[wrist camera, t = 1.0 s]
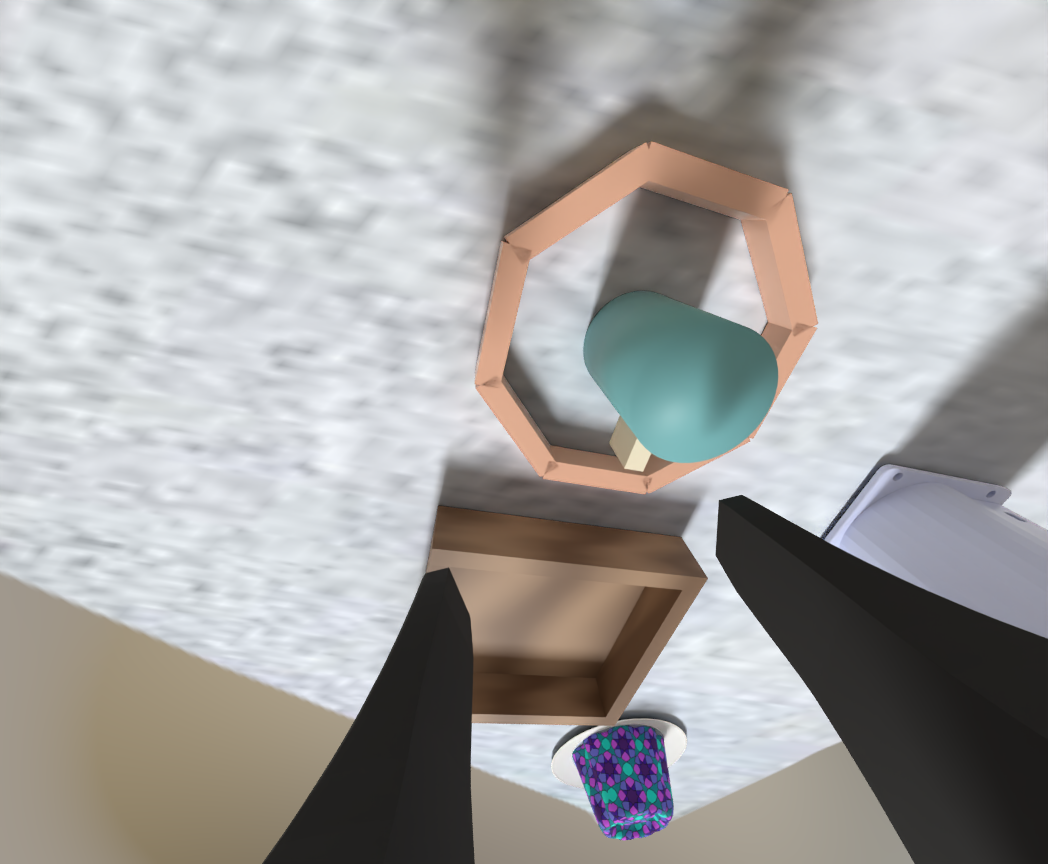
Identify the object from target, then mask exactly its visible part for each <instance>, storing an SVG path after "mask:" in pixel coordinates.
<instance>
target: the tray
mask: <svg viewBox="0 0 1048 864" xmlns="http://www.w3.org/2000/svg"><path fill="white" fill-rule="evenodd" d="M448 567H449V568H450V571H451V573H452V575H453V578H454V580H455V582H456V585H457V587H458V589H459V591H460V594H461V596H462V598H463V601H464V603H465V605H466V608H467V610H468V612H469V614H470V618H471V630H472V643H473V698H472V723H498V724H547V725H596V726H615V724H616V723H617V721H618V720H619V718H620V716H621V715H622V713H623V712H624V710H625V709H626V707H627V705H628V704H629V702H630V701H631V699H632V698H633V696H634V694H635V693H636V691H637V690H638V688H639V686H640V685H641V683H642V682H643V680H644V679H645V677H646V675H647V674H648V672H649V671H650V669H651V668H652V666H653V664H654V663H655V661H656V660H657V658H658V656H659V655H660V653H661V652H662V650H663V649H664V647H665V645H666V644H667V642H668V641H669V639H670V638H671V636H672V634H673V633H674V631H675V630H676V628H677V626H678V625H679V623H680V622H681V620H682V619H683V617H684V615H685V614H686V612H687V611H688V609H689V608H690V606H691V604H692V603H693V601H694V600H695V598H696V596H697V595H698V593H699V592H700V590H701V589H702V587H703V585H704V584H705V582H706V581H707V579H708V578H707V576H706V575H705V573H704V572H703V570H702V568H701V567H700V565H699V564H698V562H697V561H696V559H695V558H694V556H693V555H692V553H691V551H690V550H689V548H688V547H687V545H686V544H685V542H684V541H683V539H682V538H681V537H676V536H668V535H660V534H653V533H645V532H637V531H630V530H622V529H614V528H607V527H599V526H591V525H584V524H576V523H568V522H561V521H553V520H545V519H538V518H530V517H522V516H515V515H507V514H499V513H492V512H484V511H476V510H469V509H461V508H453V507H445V506H438V509H437V515H436V520H435V526H434V531H433V536H432V542H431V547H430V552H429V558H428V563H427V569H426V573H428V572H432V571H436V570H440V569H444V568H448Z"/></svg>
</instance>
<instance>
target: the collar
mask: <svg viewBox="0 0 1048 864" xmlns="http://www.w3.org/2000/svg"><path fill="white" fill-rule="evenodd" d="M639 187H640V188H643V189H647V190H650V191H653V192H656V193H659V194H662V195H665V196H668V197H671V198H674V199H677V200H680V201H683V202H687V203H690V204H693V205H696V206H699V207H702V208H705V209H708V210H711V211H714V212H717V213H720V214H723V215H727V216H730V217H733V218H736V219H739V220H741V223H742V227H743V230H744V234H745V238H746V241H747V245H748V249H749V253H750V256H751V260H752V264H753V268H754V271H755V275H756V279H757V282H758V286H759V290H760V294H761V297H762V301H763V305H764V308H765V312H766V316H767V320H768V323H767V325H766V327H765V329H764V331H763V333H762V335H761V336H762V337H763V338H764V339H765V340H766V341H767V342H768V343H769V345H770V346H771V348H772V350H773V352H774V354H775V357H776V360H777V365H778V385H777V390H776V394H775V397H774V400H773V403H772V405H773V404H774V402H775V400H776V398H777V397H778V395H779V393H780V391H781V390H782V388H783V386H784V385H785V383H786V381H787V379H788V378H789V376H790V374H791V372H792V371H793V369H794V367H795V365H796V364H797V362H798V360H799V359H800V357H801V355H802V353H803V352H804V350H805V348H806V346H807V345H808V343H809V341H810V339H811V338H812V336H813V334H814V333H815V331H816V329H817V328H816V327H813V326H815V325H817V324H818V321H817V316H816V311H815V306H814V301H813V296H812V291H811V286H810V281H809V276H808V271H807V266H806V261H805V256H804V251H803V246H802V242H801V237H800V232H799V227H798V222H797V217H796V212H795V207H794V202H793V197H792V193H789V194H787V193H788V191H789V190H788V189H785V188H783V187H780V186H777V185H774V184H771V183H768V182H766V181H763V180H760V179H757V178H754V177H751V176H749V175H746V174H743V173H740V172H737V171H734V170H732V169H729V168H726V167H723V166H720V165H717V164H715V163H712V162H709V161H706V160H703V159H700V158H698V157H695V156H692V155H689V154H686V153H683V152H681V151H678V150H675V149H672V148H669V147H666V146H664V145H661V144H658V143H655V142H652V141H651V142H649V143H646V142H645V143H644V144H642V145H640V146H638V147H636V148H634V149H632V150H630V151H628V152H627V153H625V154H624V155H622V156H621V157H619V158H618V159H617V160H615V161H614V162H612V163H611V164H609V165H608V166H606V167H605V168H603V169H602V170H600V171H599V172H598V173H596V174H595V175H593V176H592V177H590V178H589V179H587V180H586V181H584V182H583V183H581V184H580V185H579V186H577V187H576V188H574V189H573V190H571V191H570V192H568V193H567V194H565V195H564V196H562V197H561V198H560V199H558V200H557V201H555V202H554V203H552V204H551V205H549V206H548V207H546V208H545V209H543V210H542V211H541V212H539V213H538V214H536V215H535V216H533V217H532V218H530V219H529V220H527V221H526V222H524V223H523V224H522V225H520V226H519V227H517V228H516V229H514V230H513V231H511V232H510V233H508V234H507V235H505V236H504V238H505V240H506V241H507V242H504V241H501V244H500V249H499V254H498V259H497V264H496V269H495V274H494V279H493V284H492V289H491V294H490V299H489V304H488V309H487V314H486V319H485V324H484V329H483V334H482V339H481V344H480V349H479V354H478V359H477V364H476V369H475V384H476V389H477V391H478V392H479V394H480V395H481V396H482V398H483V399H484V401H485V402H486V403H487V405H488V406H489V407H490V409H491V410H492V412H493V413H494V414H495V416H496V417H497V418H498V420H499V421H500V423H501V424H502V425H503V427H504V428H505V430H506V431H507V432H508V434H509V435H510V436H511V438H512V439H513V441H514V442H515V443H516V445H517V446H518V447H519V449H520V450H521V452H522V453H523V454H524V456H525V457H526V459H527V460H528V461H529V463H530V464H531V465H532V467H533V468H534V470H535V471H536V472H537V474H538V475H539V477H541V476H542V477H543V479H547V480H554V481H560V482H567V483H573V484H580V485H586V486H593V487H600V488H606V489H613V490H619V491H626V492H633V493H639V494H646V492H648V493H651V492H653V491H655V490H657V489H659V488H661V487H663V486H665V485H667V484H669V483H671V482H673V481H674V480H676V479H678V478H680V477H682V476H684V475H686V474H688V473H690V472H692V471H694V470H696V469H698V468H700V467H702V466H704V465H705V464H707V463H709V462H711V461H713V460H715V459H717V458H719V457H721V456H723V455H725V454H727V453H729V452H731V451H733V450H735V449H736V448H738V447H740V446H742V445H744V444H746V443H748V442H750V439H749V438H754V436H755V435H756V433H757V431H758V430H759V428H760V426H761V424H762V423H763V421H764V419H765V417H766V416H767V414H768V413H767V414H766V416H765V417H764V419H763V421H762V422H761V423H760V424H759V426H758V427H757V428H756V429H755V430H754V431H753V432H752V433H751V434H750V436H748V437H747V438H746V439H745V440H744V441H743V442H741V443H740V444H739V445H737V446H736V447H734V448H733V449H731V450H729V451H728V452H726V453H724V454H722V455H719V456H717V457H714V458H712V459H709V460H705V461H701V462H694V463H677V462H671V461H667V460H664V459H661V458H659V457H657V456H655V455H653V454H652V453H651V455H650V457H649V460H648V462H647V464H646V466H645V468H644V471H643V472H642V471H636V470H630V469H624V467H623V466H622V464H621V462H620V461H619V459H618V457H616V456H611V455H605V454H599V453H593V452H587V451H581V450H575V449H570V448H564V447H558V446H552V445H550V444H549V443H548V441H547V440H546V438H545V437H544V435H543V434H542V432H541V431H540V429H539V428H538V426H537V425H536V423H535V422H534V420H533V419H532V417H531V416H530V414H529V413H528V411H527V410H526V408H525V407H524V405H523V404H522V402H521V401H520V399H519V398H518V396H517V395H516V393H515V392H514V390H513V389H512V387H511V386H510V384H509V383H508V381H507V380H506V378H505V377H504V375H503V371H504V367H505V363H506V358H507V354H508V350H509V346H510V341H511V337H512V333H513V328H514V324H515V320H516V316H517V311H518V307H519V303H520V298H521V294H522V290H523V286H524V281H525V277H526V273H527V268H528V264H529V260H530V259H532V258H533V257H535V256H536V255H538V254H539V253H541V252H542V251H544V250H545V249H547V248H548V247H550V246H551V245H553V244H554V243H556V242H557V241H559V240H560V239H562V238H563V237H565V236H566V235H568V234H569V233H571V232H572V231H574V230H575V229H577V228H578V227H580V226H581V225H583V224H584V223H586V222H587V221H589V220H590V219H592V218H593V217H595V216H596V215H598V214H599V213H601V212H602V211H604V210H605V209H607V208H608V207H610V206H612V205H613V204H615V203H616V202H618V201H619V200H621V199H622V198H624V197H625V196H627V195H628V194H630V193H631V192H633V191H634V190H636V189H637V188H639ZM772 405H771V407H772ZM771 407H770V409H771ZM770 409H769V410H770ZM768 412H769V411H768Z"/></svg>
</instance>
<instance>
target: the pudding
mask: <svg viewBox="0 0 1048 864" xmlns="http://www.w3.org/2000/svg"><path fill="white" fill-rule="evenodd" d="M628 724H639V725H646V726H642V727H637V728H633V727H631V726H629V725H628ZM620 725H625V726H620ZM615 726H617V727H615ZM615 726H597V727H594V728H592V729H589V730H587V731H585V732H583V733H581V734H579V735H577V736H575V737H574V738H572V739H571V740H569V741H568V742H566V743H565V744H564V745H563V746H562V747H561V748H560V749H559V750H558V751H557V753H556V754H555V755H554V758H553V760H552V764H551V769H552V773H553V774H554V776H555V777H556V778H557V779H558V780H560V781H561V782H563V783H565V784H567V785H570V786H573V787H577V788H583V789H585V791H586V794H587V796H588V799H589V802H590V804H591V807H592V809H593V812H594V815H595V817H596V820H597V822H598V825H599V827H600V829H601V830H602V832H603V833H604V835H605V836H607V837H608V838H618V839H619V840H631V839H634V838H642V837H646V836H649V835H651V834H653V833H654V832H656V831H660V830H662V829H664V828H665V827H666V826H667V825H668V823H669V821H670V820H671V818H672V816H673V799H672V792H671V785H670V779H669V772H668V768H669V767H670V766H671V765H673V764H674V763H675V762H676V761H677V760H678V759H679V758H680V757H681V755H682V754H683V753H684V751H685V749H686V746H687V738H686V734H685V733H684V732H683V730H682V729H680V728H679V727H678V726H676V725H674V724H672V723H670V722H666V721H662V720H657V719H626V720H620V721H617V723H616V724H615ZM647 726H650V727H647ZM610 727H613V728H611V729H610V730H608V731H607V732H604V733H596V732H598V731H601V730H603V729H607V728H610ZM651 727H653V728H655V729H657V730H659V731H660V732H661V733H662V734H663V736H664V739H663V737H662V736H660V735H656V733H655V729H653V728H651ZM594 733H595V734H594ZM592 734H593V735H592ZM590 735H591V736H590ZM588 736H589V737H588ZM585 738H586V739H585ZM584 739H585V740H584ZM582 740H583V745H582V746H580V747H578V748H576V749H575V747H576V746H577V745H578V744H579V743H580V742H581V741H582ZM574 749H575V750H574ZM573 750H574V751H573ZM572 757H573V760H574V762H575V764H574V763H573V761H572Z"/></svg>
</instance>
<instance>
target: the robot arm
mask: <svg viewBox="0 0 1048 864" xmlns="http://www.w3.org/2000/svg"><path fill="white" fill-rule="evenodd" d="M1010 496H1011V490H1009V489H1007V488H1005V487H1003V486H999V485H994V484H989V483H984V482H979V481H973V480H968V479H963V478H958V477H953V476H948V475H943V474H938V473H933V472H928V471H922V470H917V469H912V468H907V467H902V466H897V465H892V464H887V465H884V466H882V467H880V468H879V469H878V470H877V472H876V473H875V474H874V476H873V477H872V478H871V479H870V481H869V482H868V483H867V485H866V486H865V487H864V489H863V490H862V491H861V492H860V494H859V495H858V496H857V498H856V499H855V500H854V501H853V503H852V504H851V505H850V507H849V508H848V509H847V511H846V512H845V513H844V514H843V516H842V517H841V518H840V520H839V521H838V522H837V524H836V525H835V526H834V527H833V529H832V530H831V531H830V533H829V534H828V535H827V537H826V538H825V539H824V540H823V539H821V538H819V537H817V536H815V535H814V534H812V533H810V532H808V531H806V530H804V529H803V528H801V527H799V526H797V525H795V524H794V523H792V522H790V521H788V520H786V519H785V518H783V517H781V516H779V515H778V514H776V513H774V512H772V511H770V510H769V509H767V508H765V507H763V506H761V505H760V504H758V503H756V502H754V501H752V500H751V499H749V498H747V497H745V496H743V495H739V496H735V497H731V498H727V499H723V500H719V509H718V525H717V542H716V557H717V558H718V560H719V562H720V564H721V566H722V567H723V569H724V571H725V573H726V574H727V576H728V578H729V579H730V581H731V583H732V584H733V586H734V588H735V589H736V591H737V593H738V594H739V595H740V597H741V598H742V599H743V601H744V602H745V604H746V605H747V606H748V608H749V609H750V610H751V612H752V613H753V614H754V616H755V617H756V618H757V620H758V621H759V622H760V624H761V625H762V626H763V628H764V629H765V630H766V632H767V633H768V634H769V636H770V637H771V638H772V640H773V641H774V642H775V644H776V645H777V646H778V648H779V649H780V650H781V652H782V653H783V654H784V656H785V657H786V658H787V660H788V661H789V662H790V664H791V665H792V666H793V668H794V669H795V670H796V672H797V673H798V674H799V676H800V677H801V678H802V680H803V681H804V683H805V684H806V685H807V687H808V688H809V690H810V691H811V693H812V694H813V695H814V697H815V698H816V700H817V701H818V703H819V705H820V706H821V708H822V709H823V711H824V713H825V714H826V716H827V717H828V719H829V720H830V722H831V724H832V725H833V727H834V728H835V730H836V732H837V733H838V735H839V736H840V738H841V739H842V741H843V743H844V744H845V746H846V748H847V749H848V751H849V752H850V754H851V756H852V757H853V759H854V761H855V762H856V764H857V765H858V767H859V769H860V771H861V772H862V774H863V776H864V777H865V779H866V781H867V782H868V784H869V786H870V787H871V789H872V790H873V792H874V794H875V796H876V797H877V799H878V801H879V802H880V804H881V806H882V808H883V809H884V811H885V812H886V815H887V816H888V818H889V820H890V821H891V823H892V825H893V827H894V828H895V830H896V832H897V834H898V835H899V837H900V839H901V840H902V842H903V844H904V846H905V847H906V849H907V851H908V853H909V854H910V856H911V858H912V860H913V861H914V863H915V864H1048V530H1046V529H1045V528H1043V527H1041V526H1039V525H1037V524H1035V523H1033V522H1032V521H1030V520H1028V519H1026V518H1024V517H1022V516H1020V515H1018V514H1017V513H1015V512H1013V511H1011V510H1009V509H1007V508H1005V507H1004V506H1002V504H1003V503H1004V502H1005V501H1006V500H1007V499H1008V498H1009V497H1010ZM472 698H473V643H472V630H471V618H470V614H469V612H468V610H467V608H466V605H465V603H464V601H463V598H462V596H461V594H460V591H459V589H458V587H457V585H456V582H455V580H454V578H453V575H452V573H451V571H450V568H449V567H448V568H444V569H440V570H436V571H432V572H428V573H426V574H425V575H424V577H423V579H422V581H421V584H420V586H419V589H418V591H417V593H416V596H415V598H414V601H413V603H412V605H411V608H410V610H409V612H408V615H407V617H406V619H405V621H404V624H403V626H402V628H401V630H400V632H399V635H398V637H397V639H396V641H395V643H394V645H393V647H392V649H391V652H390V654H389V656H388V658H387V660H386V662H385V664H384V666H383V668H382V670H381V672H380V674H379V676H378V678H377V680H376V682H375V684H374V685H373V687H372V689H371V691H370V693H369V695H368V697H367V699H366V701H365V703H364V705H363V706H362V708H361V710H360V712H359V714H358V715H357V717H356V719H355V721H354V723H353V724H352V726H351V728H350V730H349V731H348V733H347V735H346V736H345V738H344V740H343V742H342V743H341V745H340V747H339V748H338V750H337V752H336V753H335V755H334V757H333V758H332V760H331V762H330V763H329V765H328V766H327V768H326V770H325V771H324V773H323V774H322V776H321V777H320V779H319V780H318V782H317V784H316V785H315V787H314V788H313V790H312V791H311V793H310V794H309V796H308V798H307V799H306V801H305V802H304V804H303V805H302V807H301V808H300V810H299V811H298V813H297V814H296V816H295V818H294V819H293V820H292V822H291V823H290V825H289V826H288V828H287V829H286V831H285V832H284V834H283V835H282V837H281V838H280V839H279V841H278V842H277V844H276V845H275V846H274V848H273V849H272V850H271V852H270V853H269V855H268V856H267V858H266V859H265V860H264V862H263V863H262V864H475V863H474V847H473V825H472V806H471V805H472V804H471V770H470V769H471V729H472Z"/></svg>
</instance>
